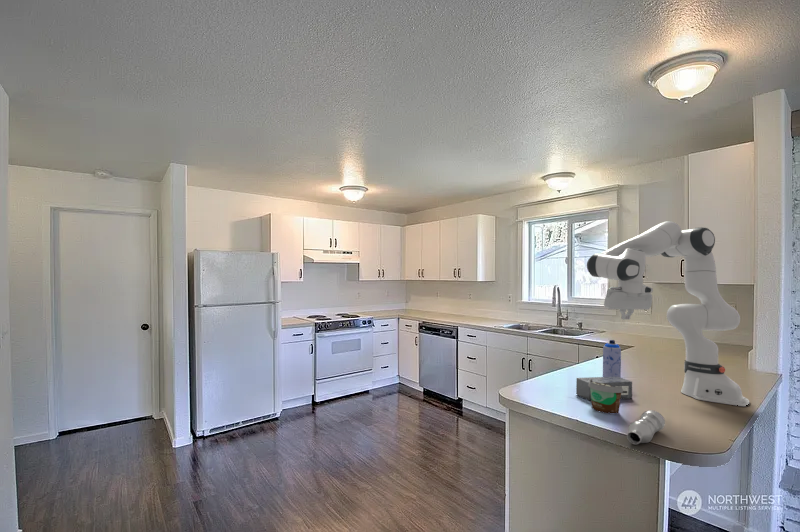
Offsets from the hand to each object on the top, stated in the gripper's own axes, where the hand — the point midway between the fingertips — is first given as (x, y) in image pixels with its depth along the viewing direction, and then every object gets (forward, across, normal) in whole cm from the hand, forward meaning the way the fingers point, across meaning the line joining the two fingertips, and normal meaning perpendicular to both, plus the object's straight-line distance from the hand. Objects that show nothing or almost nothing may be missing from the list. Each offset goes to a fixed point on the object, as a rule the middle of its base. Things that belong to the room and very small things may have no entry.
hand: (625, 319), depth 165 cm
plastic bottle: (+23, -17, -37) cm, 47 cm away
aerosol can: (+35, +8, +13) cm, 38 cm away
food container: (+30, -23, -20) cm, 43 cm away
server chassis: (+32, -10, -6) cm, 34 cm away
